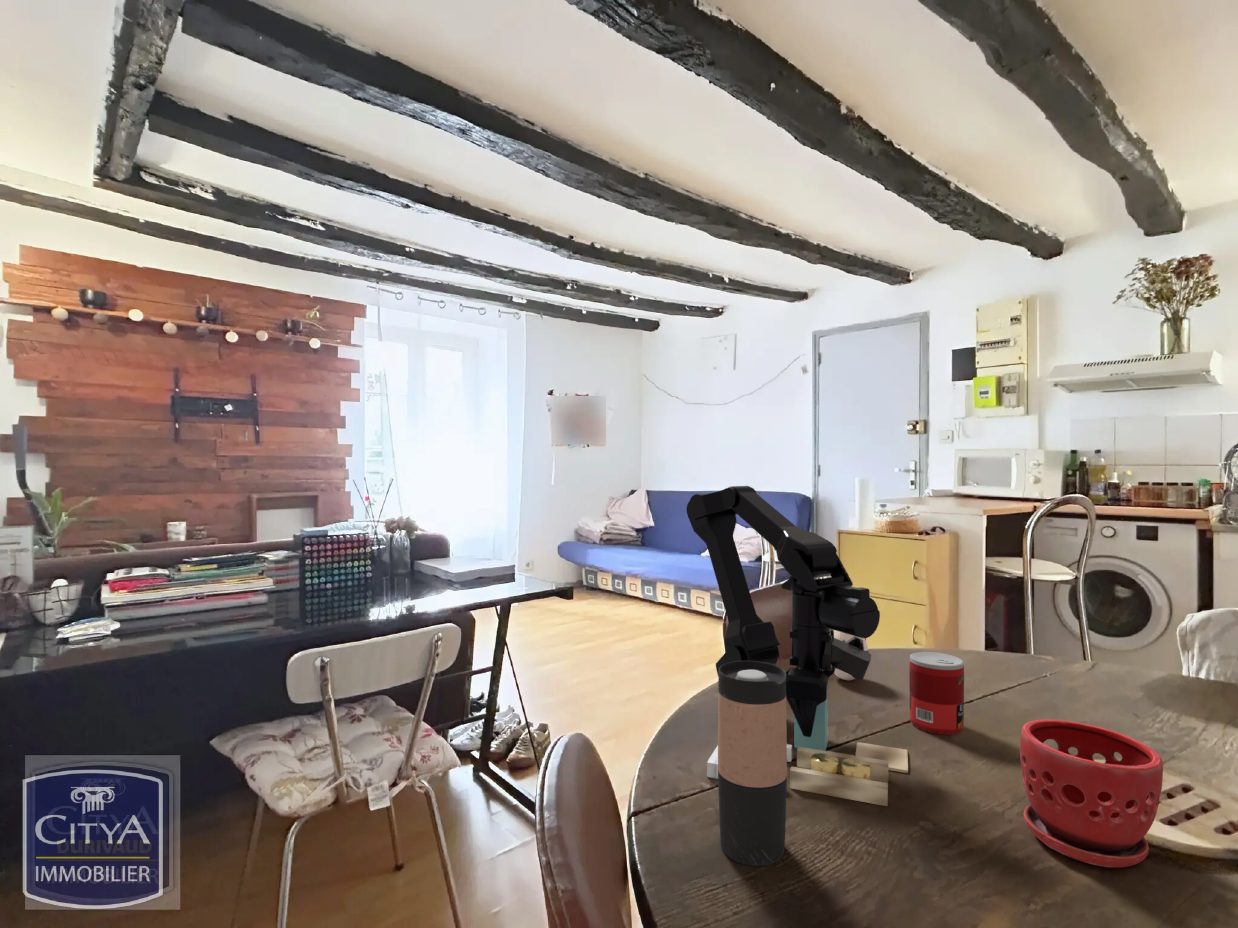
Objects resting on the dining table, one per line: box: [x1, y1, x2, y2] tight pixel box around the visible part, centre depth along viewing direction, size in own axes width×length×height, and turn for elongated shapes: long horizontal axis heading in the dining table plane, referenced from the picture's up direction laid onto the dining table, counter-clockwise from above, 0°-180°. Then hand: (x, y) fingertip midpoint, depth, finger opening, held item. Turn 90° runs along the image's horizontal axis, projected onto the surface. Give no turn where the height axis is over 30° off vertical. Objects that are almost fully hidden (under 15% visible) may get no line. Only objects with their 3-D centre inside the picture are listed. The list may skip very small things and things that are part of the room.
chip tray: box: [706, 743, 793, 780], centre depth 94 cm, size 10×10×2 cm
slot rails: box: [789, 747, 889, 807], centre depth 89 cm, size 12×8×2 cm, turn 67°
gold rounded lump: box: [810, 753, 839, 775], centre depth 90 cm, size 4×4×3 cm
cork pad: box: [854, 741, 909, 774], centre depth 97 cm, size 7×7×1 cm
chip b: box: [840, 758, 871, 780], centre depth 89 cm, size 4×4×3 cm
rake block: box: [793, 695, 829, 751], centre depth 101 cm, size 4×4×9 cm
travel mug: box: [717, 661, 788, 867], centre depth 75 cm, size 8×8×20 cm
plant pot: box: [1019, 718, 1164, 868], centre depth 75 cm, size 13×13×12 cm
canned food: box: [908, 651, 965, 735], centre depth 108 cm, size 8×8×11 cm
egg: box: [833, 630, 869, 681], centre depth 131 cm, size 8×8×11 cm
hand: (811, 724), depth 102 cm, fingers open, 9 cm apart
